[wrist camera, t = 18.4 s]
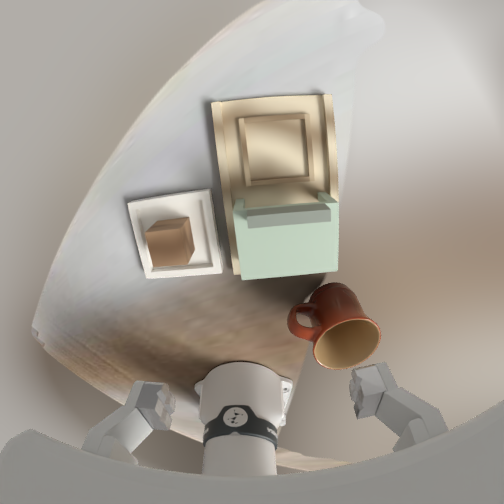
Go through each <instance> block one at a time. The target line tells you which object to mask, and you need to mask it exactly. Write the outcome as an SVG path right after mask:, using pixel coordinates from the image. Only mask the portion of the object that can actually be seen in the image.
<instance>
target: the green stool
mask: <svg viewBox="0 0 504 504" xmlns="http://www.w3.org/2000/svg"><path fill="white" fill-rule="evenodd" d="M318 201H319V202H311V203H298V204H286V205H274V206H263V207H253V208H245V199H244V198H243V199H236V202H235V205H234V208H233V218H234V226H235V233H236V241H237V248H238V255H239V263H240V270H241V277H242V280H250V279H262V278H273V277H284V276H294V275H304V274H314V273H323V272H333V271H338V243H339V203H338V202H337V201H336V200H335V199H334V198H332V197H331V196H330V195H329V194H327V193H326V192H318Z"/></svg>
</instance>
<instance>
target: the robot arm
mask: <svg viewBox="0 0 504 504" xmlns="http://www.w3.org/2000/svg"><path fill="white" fill-rule="evenodd" d="M291 389H292V380H290V379H288V378H284V377H281V376H279V375H277V374H276V373H275V372H273V371H272V370H270V369H269V368H267V367H264V366H262V365H258V364H254V363H247V362H234V363H228V364H224V365H221V366H218V367H216V368H214V369H213V370H211V371H210V372H209V373H208V375H207V376H206V378H205V379H204V380H202V381H199V382H198V383H196V384H195V391H196V392H197V394H198V395H199V396H200V406H199V419H200V420H201V422H202V423H203V424H204V425H205V430H204V433H203V445H204V447H205V452H204V460H203V469H202V475H200V474H190V473H181V472H174V471H167V470H160V469H155V468H149V467H144V466H139V465H138V460H137V459H136V458H135V457H134V456H133V455H132V454H131V452H132V451H133V450H134V449H135V448H136V447H137V446H138V445H139V444H140V443H141V442H142V441H143V440H144V439H145V438H146V437H147V436H148V435H149V434H150V433H151V432H152V431H153V429H158V430H170V426H171V422H172V418H171V416H170V415H171V414H172V413H173V412H174V410H175V398H174V396H173V394H172V393H171V392H169V386H168V385H167V383H159V382H148V381H136V382H134V384H133V387H132V389H131V391H130V394H129V396H128V399H127V401H126V404H125V406H121V407H120V408H118V409H117V410H116V411H114V412H113V413H112V414H110V415H109V416H108V417H106V418H105V419H104V420H102V421H101V422H100V423H98V424H97V425H95V426H94V427H93V428H91V429H90V430H89V432H88V435H87V437H86V439H85V441H84V444H83V446H82V449H79V448H76V447H73V446H71V445H68V444H65V443H63V442H60V441H58V440H56V439H53V438H51V437H48V436H46V435H44V434H42V433H40V432H38V431H36V430H33V429H29V430H26V431H24V432H22V433H20V434H18V435H17V436H15V437H13V438H11V439H10V440H9V441H8V442H7V443H6V445H5V446H4V448H3V450H2V451H1V453H0V504H504V400H503V401H501V402H499V403H497V404H496V405H494V406H493V407H491V408H490V409H488V410H486V411H485V412H483V413H481V414H479V415H478V416H476V417H474V418H472V419H470V420H468V421H467V422H465V423H463V424H461V425H459V426H457V427H455V428H453V429H451V430H448V428H447V426H446V424H445V422H444V419H443V417H442V415H441V413H440V411H439V409H437V408H435V407H434V406H432V405H430V404H429V403H427V402H425V401H424V400H422V399H420V398H418V397H417V396H415V395H413V394H412V393H410V392H409V391H407V390H405V389H404V388H402V387H400V388H398V386H397V384H396V381H395V379H394V377H393V375H392V373H391V371H390V369H389V367H388V365H387V363H386V362H382V363H378V364H372V365H368V366H364V367H359V368H355V369H353V370H352V379H351V380H350V385H349V389H350V396H351V400H353V401H354V402H355V405H354V410H355V413H356V417H357V419H360V418H365V417H369V416H373V415H375V416H376V417H377V418H378V419H379V420H380V421H381V422H383V423H384V424H385V425H386V426H387V427H388V428H390V429H391V430H392V431H393V432H394V433H396V434H397V435H398V436H399V437H400V438H399V440H398V441H397V443H396V444H395V446H394V447H393V451H394V452H393V453H390V454H387V455H384V456H380V457H377V458H373V459H369V460H365V461H362V462H357V463H353V464H348V465H344V466H339V467H334V468H328V469H322V470H316V471H309V472H302V473H293V474H282V475H277V471H276V460H275V450H276V449H277V443H278V436H277V428H278V426H284V425H285V423H286V414H285V413H284V410H285V407H286V404H287V401H288V398H289V395H290V392H291Z"/></svg>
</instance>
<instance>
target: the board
mask: <svg viewBox="0 0 504 504" xmlns="http://www.w3.org/2000/svg"><path fill="white" fill-rule="evenodd" d="M211 107H212V116H213V124H214V133H215V141H216V149H217V157H218V165H219V172H220V180H221V188H222V195H223V202H224V210H225V217H226V224H227V231H228V238H229V245H230V252H231V258H232V265H233V272H234V275H238V274H241V270H240V263H239V255H238V248H237V241H236V233H235V226H234V218H233V208H234V205H235V202H236V199H243V198H244V199H245V208H253V207H263V206H274V205H286V204H298V203H311V202H319V201H318V192H326V193H327V194H329V195H330V196H331V197H332V198H334V199H335V200H336V201H337V202H338V203H339V197H338V167H337V149H336V134H335V122H334V112H333V102H332V94H323V95H300V96H277V97H263V98H251V99H242V100H233V101H226V102H220V101H218V102H212V103H211Z"/></svg>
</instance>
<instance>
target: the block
mask: <svg viewBox="0 0 504 504" xmlns="http://www.w3.org/2000/svg"><path fill="white" fill-rule="evenodd" d="M145 237H146V241H147V245H148V249H149V253H150V257H151V261H152V265H153V267H163V266H176V265H188V263H189V261H190V259H191V257H192V255H193V253H194V251H195V246H194V241H193V235H192V230H191V224H190V219H189V217H184V218H176V219H168V220H161V221H156V222H155V223H154V224H153V225H152V226H151V227H150V228H149V229H148V230H147V231H146V232H145Z"/></svg>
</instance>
